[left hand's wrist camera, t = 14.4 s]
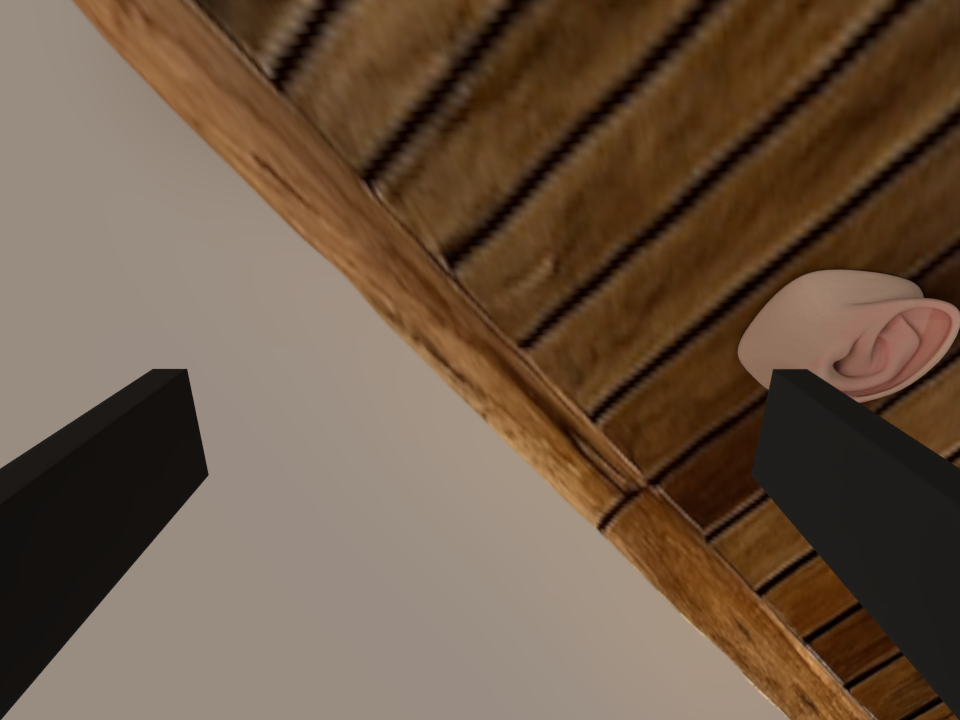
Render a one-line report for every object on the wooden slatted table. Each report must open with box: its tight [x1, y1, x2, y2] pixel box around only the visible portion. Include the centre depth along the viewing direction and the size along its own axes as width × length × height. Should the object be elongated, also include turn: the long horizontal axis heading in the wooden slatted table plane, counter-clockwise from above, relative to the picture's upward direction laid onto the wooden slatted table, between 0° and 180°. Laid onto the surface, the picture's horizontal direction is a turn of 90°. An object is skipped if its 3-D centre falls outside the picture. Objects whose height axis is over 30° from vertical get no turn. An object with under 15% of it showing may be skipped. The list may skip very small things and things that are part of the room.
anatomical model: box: [738, 270, 960, 403], centre depth 41 cm, size 13×4×12 cm
